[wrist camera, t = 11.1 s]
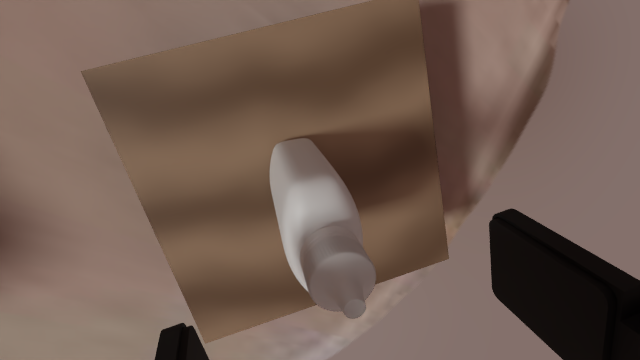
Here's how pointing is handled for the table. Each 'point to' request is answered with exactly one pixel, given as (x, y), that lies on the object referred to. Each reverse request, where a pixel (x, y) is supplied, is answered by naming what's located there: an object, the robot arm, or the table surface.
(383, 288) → the table surface
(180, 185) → the walnut stool
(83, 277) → the table surface
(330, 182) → the eye dropper bottle
